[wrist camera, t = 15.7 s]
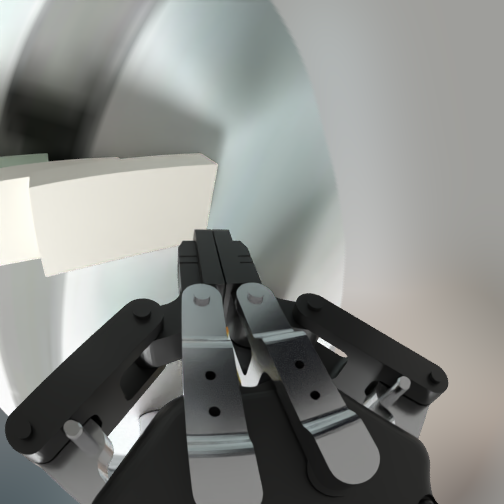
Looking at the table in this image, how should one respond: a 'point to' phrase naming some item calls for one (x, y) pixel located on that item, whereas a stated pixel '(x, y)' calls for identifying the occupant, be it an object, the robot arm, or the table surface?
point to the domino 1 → (23, 159)
